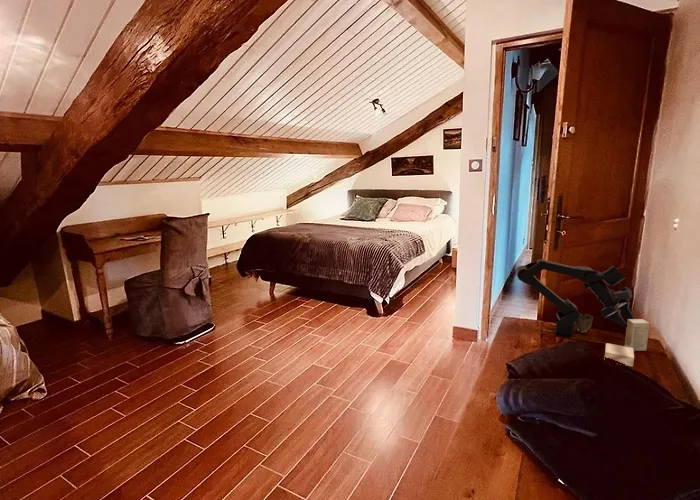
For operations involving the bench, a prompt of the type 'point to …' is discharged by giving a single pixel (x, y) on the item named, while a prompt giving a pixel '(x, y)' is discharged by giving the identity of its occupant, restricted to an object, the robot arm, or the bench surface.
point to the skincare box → (637, 334)
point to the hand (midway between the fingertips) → (630, 323)
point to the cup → (583, 323)
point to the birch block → (620, 354)
